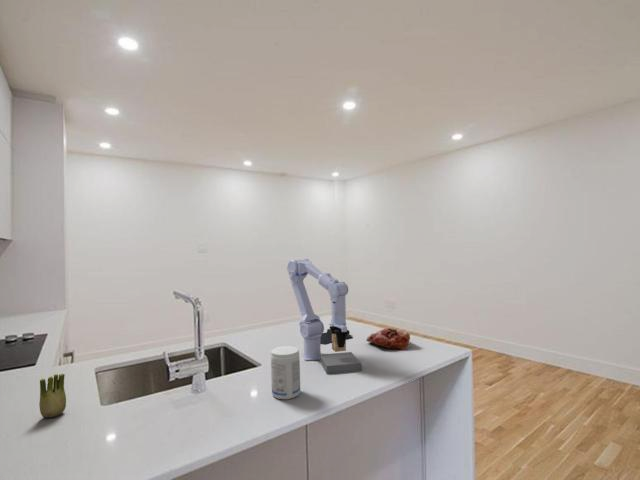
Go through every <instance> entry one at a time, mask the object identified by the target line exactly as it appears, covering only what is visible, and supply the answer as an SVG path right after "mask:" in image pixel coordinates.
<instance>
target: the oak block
mask: <svg viewBox="0 0 640 480" xmlns="http://www.w3.org/2000/svg"><path fill="white" fill-rule="evenodd" d="M331 349H332V351H334V352H335V353H340V352H346V351H347V340H346V339H345V344H344V347H341V348H339V347H338V343H337V337H336V334H332V343H331Z"/></svg>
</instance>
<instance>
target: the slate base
mask: <svg viewBox="0 0 640 480" xmlns="http://www.w3.org/2000/svg"><path fill="white" fill-rule="evenodd" d="M319 356H320V359H319V363H320V365H321V367H322V368H323V371H324V372H325V374H327V375H328V374H339V373H341V374H342V373H351V372H359V371H360V372H361V371H362V362H361V361H360V360H359V359H358V358H357V356H355V355H354V353H353V352H352V351H347V352H346V351H344V352H335V353H321V354H319Z"/></svg>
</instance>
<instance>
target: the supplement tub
mask: <svg viewBox="0 0 640 480" xmlns="http://www.w3.org/2000/svg"><path fill="white" fill-rule="evenodd" d="M270 352H271V353H270V370H271V372H270V376H271V377H270V378H271V379H270V380H271V394H272V396H273V397H274V398H276V399H279V400H290V399H293V398H296V397H297V396H299V395H300V393H301V365H300V349H299V347H297V346H292V345H282V346H278V347H274V348H273V349H271V351H270Z"/></svg>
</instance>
